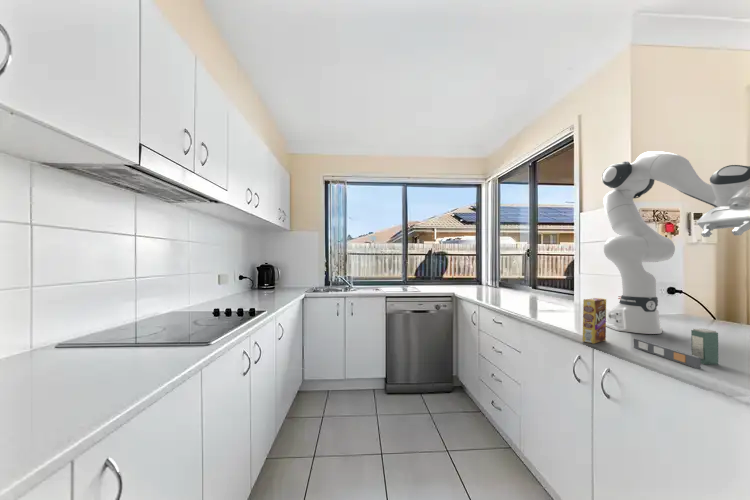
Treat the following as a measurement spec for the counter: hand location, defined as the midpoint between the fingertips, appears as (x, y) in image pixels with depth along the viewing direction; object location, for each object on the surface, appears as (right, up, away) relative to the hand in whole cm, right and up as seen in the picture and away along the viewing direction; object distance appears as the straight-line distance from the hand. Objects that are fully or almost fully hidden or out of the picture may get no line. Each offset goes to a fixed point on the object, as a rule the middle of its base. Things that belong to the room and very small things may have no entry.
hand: (719, 234), depth 109 cm
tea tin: (-11, -37, -7) cm, 39 cm away
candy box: (-27, -38, +18) cm, 50 cm away
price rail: (-18, -37, -1) cm, 42 cm away
